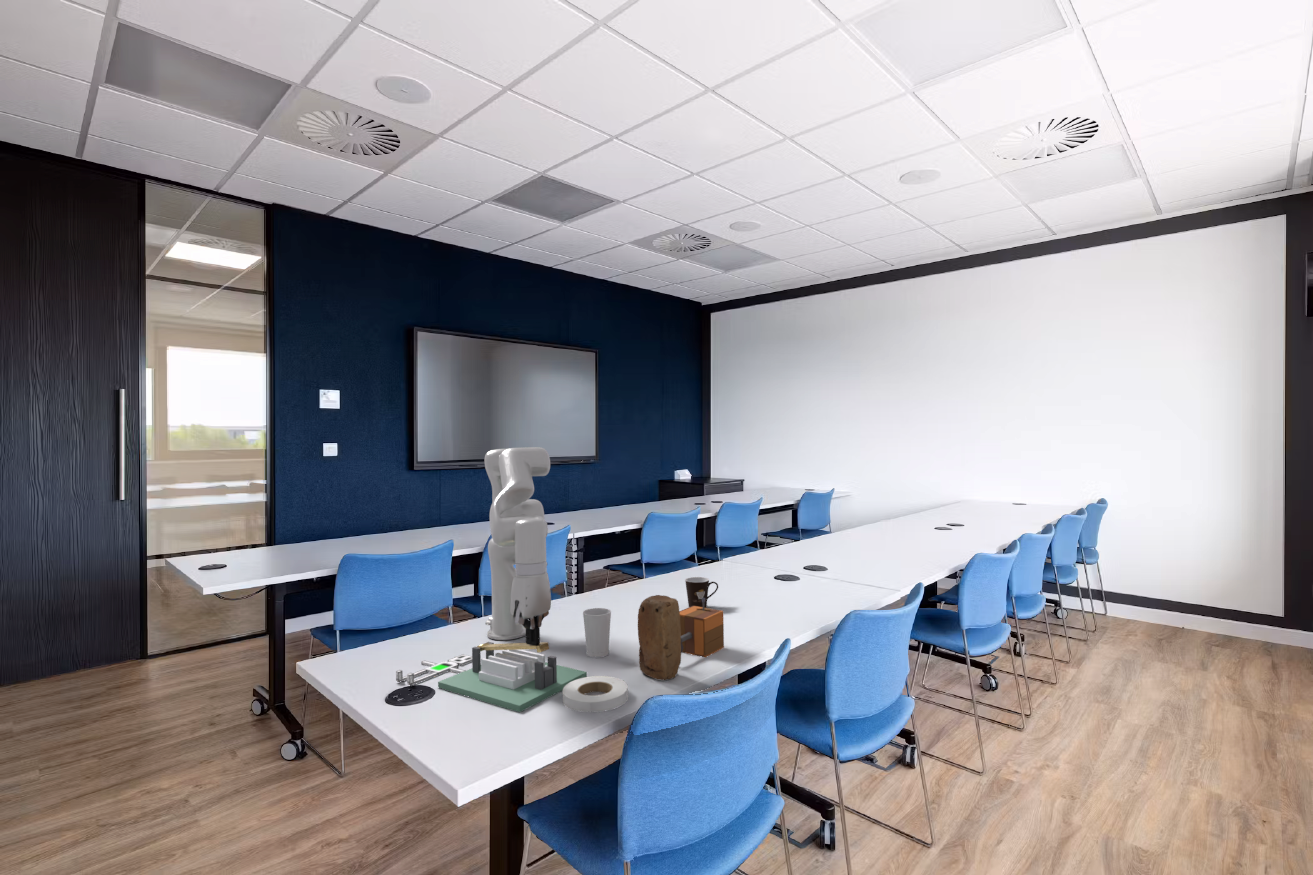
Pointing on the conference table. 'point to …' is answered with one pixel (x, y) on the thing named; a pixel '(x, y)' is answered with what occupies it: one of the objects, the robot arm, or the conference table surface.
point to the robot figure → (435, 669)
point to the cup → (597, 631)
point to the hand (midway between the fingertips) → (532, 643)
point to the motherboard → (511, 678)
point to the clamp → (701, 630)
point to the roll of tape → (593, 703)
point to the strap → (514, 646)
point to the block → (659, 637)
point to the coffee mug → (698, 590)
